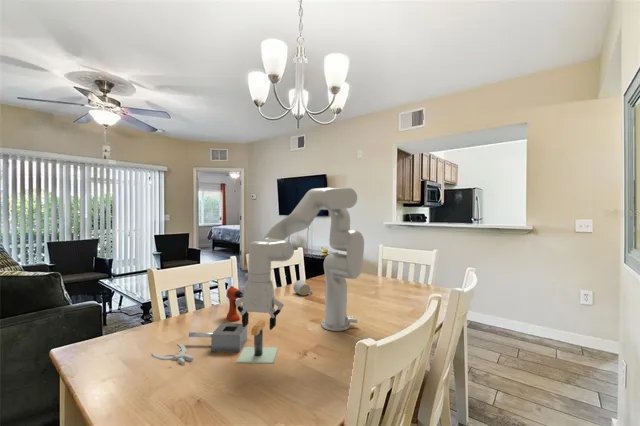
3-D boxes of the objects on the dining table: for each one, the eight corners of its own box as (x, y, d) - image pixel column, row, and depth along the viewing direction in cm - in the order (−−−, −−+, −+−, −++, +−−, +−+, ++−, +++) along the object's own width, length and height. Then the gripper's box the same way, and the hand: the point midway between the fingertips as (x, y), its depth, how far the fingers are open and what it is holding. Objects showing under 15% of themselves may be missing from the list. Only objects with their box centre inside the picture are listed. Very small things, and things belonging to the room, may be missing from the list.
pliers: (179, 340, 106) (202, 353, 97) (179, 344, 106) (202, 358, 97) (151, 351, 98) (173, 365, 89) (150, 355, 98) (173, 370, 89)
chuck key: (250, 359, 96) (250, 328, 95) (258, 348, 102) (258, 319, 102) (258, 360, 95) (258, 329, 94) (265, 348, 102) (266, 320, 101)
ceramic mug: (300, 297, 165) (300, 283, 165) (292, 293, 172) (293, 280, 172) (315, 294, 171) (315, 281, 171) (307, 291, 178) (308, 278, 178)
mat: (277, 348, 104) (277, 347, 104) (273, 363, 94) (273, 362, 94) (244, 348, 104) (244, 346, 104) (236, 362, 94) (236, 361, 94)
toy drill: (240, 327, 118) (239, 290, 119) (224, 319, 133) (223, 286, 134) (251, 324, 121) (250, 288, 122) (235, 316, 136) (234, 284, 137)
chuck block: (246, 339, 111) (247, 323, 111) (239, 352, 101) (239, 335, 101) (195, 338, 111) (195, 322, 111) (182, 350, 101) (183, 333, 101)
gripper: (230, 278, 96) (230, 328, 96) (280, 281, 93) (279, 333, 93) (241, 273, 104) (240, 320, 104) (287, 276, 101) (286, 324, 101)
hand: (258, 326), depth 99 cm, fingers open, 9 cm apart
